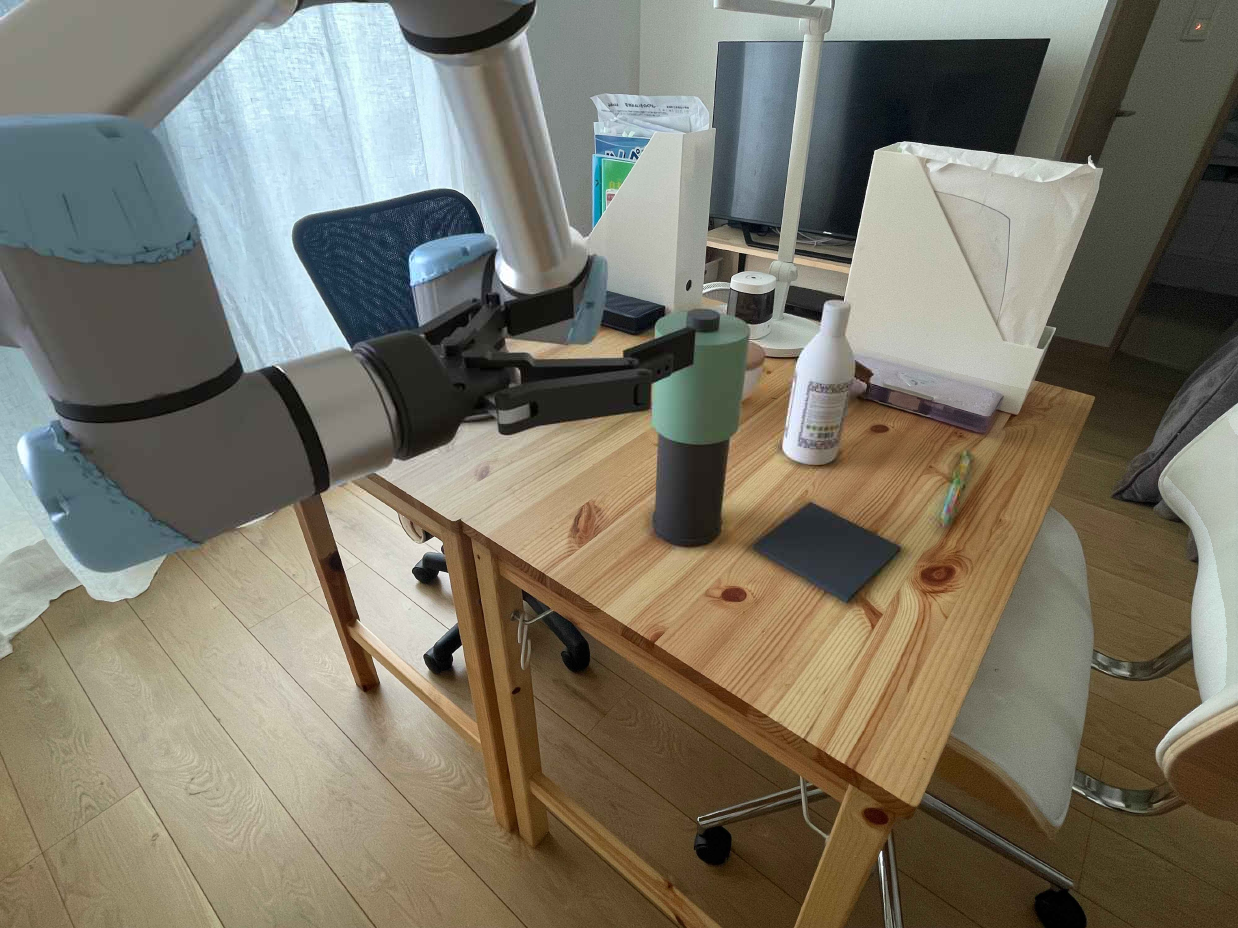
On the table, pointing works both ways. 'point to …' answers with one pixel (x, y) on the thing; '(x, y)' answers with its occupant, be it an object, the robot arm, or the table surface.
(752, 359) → the white bowl with lid
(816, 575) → the mat
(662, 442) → the cylinder
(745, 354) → the green knobbed cylinder
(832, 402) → the bath foam
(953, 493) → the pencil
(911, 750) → the table surface
